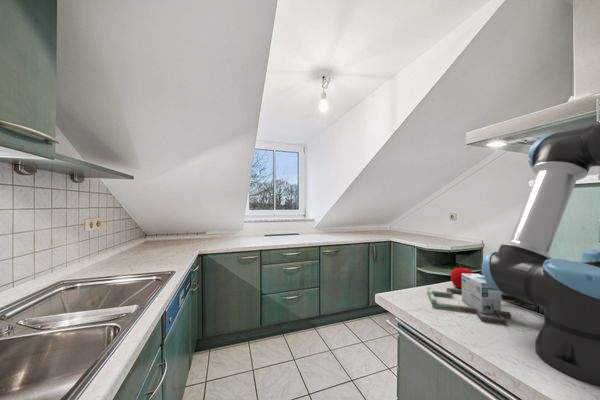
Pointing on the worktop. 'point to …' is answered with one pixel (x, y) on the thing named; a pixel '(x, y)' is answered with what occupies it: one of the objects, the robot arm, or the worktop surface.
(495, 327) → the worktop surface
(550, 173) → the robot arm
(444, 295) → the trap lane
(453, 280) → the fruit
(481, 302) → the light bulb box
